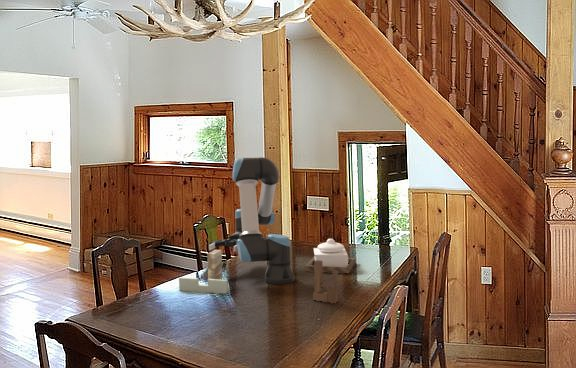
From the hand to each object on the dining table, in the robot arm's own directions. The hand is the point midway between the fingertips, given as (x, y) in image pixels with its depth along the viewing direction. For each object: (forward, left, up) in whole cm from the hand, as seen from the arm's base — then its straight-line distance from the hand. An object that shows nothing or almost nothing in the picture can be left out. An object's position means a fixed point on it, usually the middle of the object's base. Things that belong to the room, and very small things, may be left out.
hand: (221, 248), depth 303 cm
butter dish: (-50, -34, -15) cm, 63 cm away
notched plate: (-1, +11, -15) cm, 19 cm away
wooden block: (-61, +29, -16) cm, 69 cm away
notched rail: (-1, +26, -15) cm, 30 cm away
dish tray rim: (-51, -34, -15) cm, 63 cm away
